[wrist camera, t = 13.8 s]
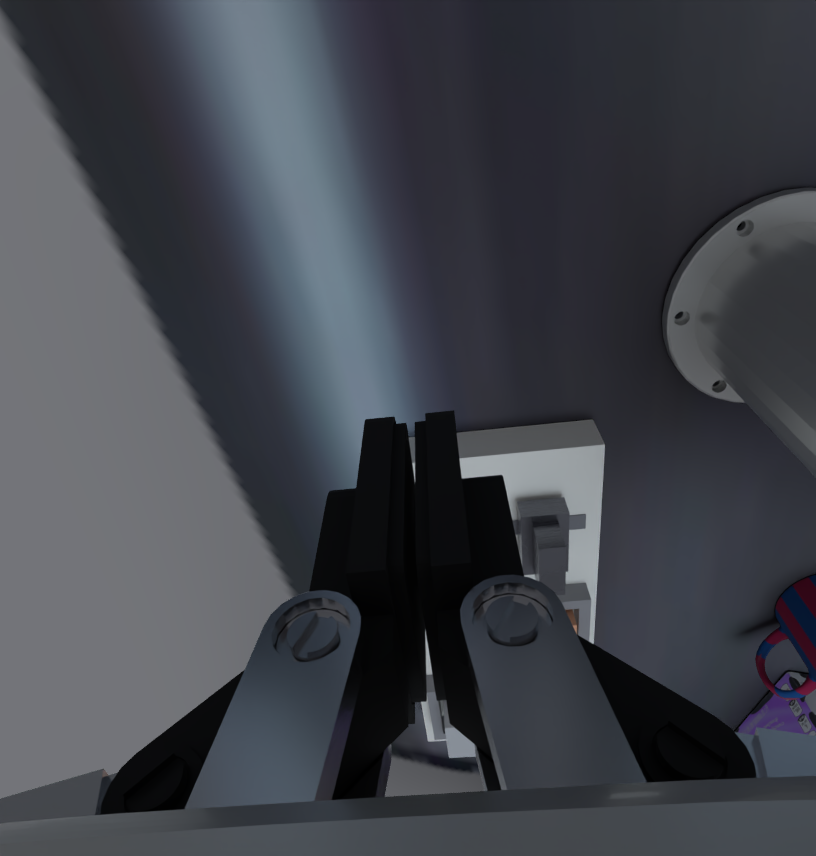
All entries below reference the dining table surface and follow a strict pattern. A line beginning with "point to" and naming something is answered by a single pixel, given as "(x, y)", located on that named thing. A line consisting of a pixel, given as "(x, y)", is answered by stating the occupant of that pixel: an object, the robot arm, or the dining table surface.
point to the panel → (531, 480)
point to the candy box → (784, 710)
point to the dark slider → (544, 540)
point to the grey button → (456, 739)
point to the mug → (794, 635)
